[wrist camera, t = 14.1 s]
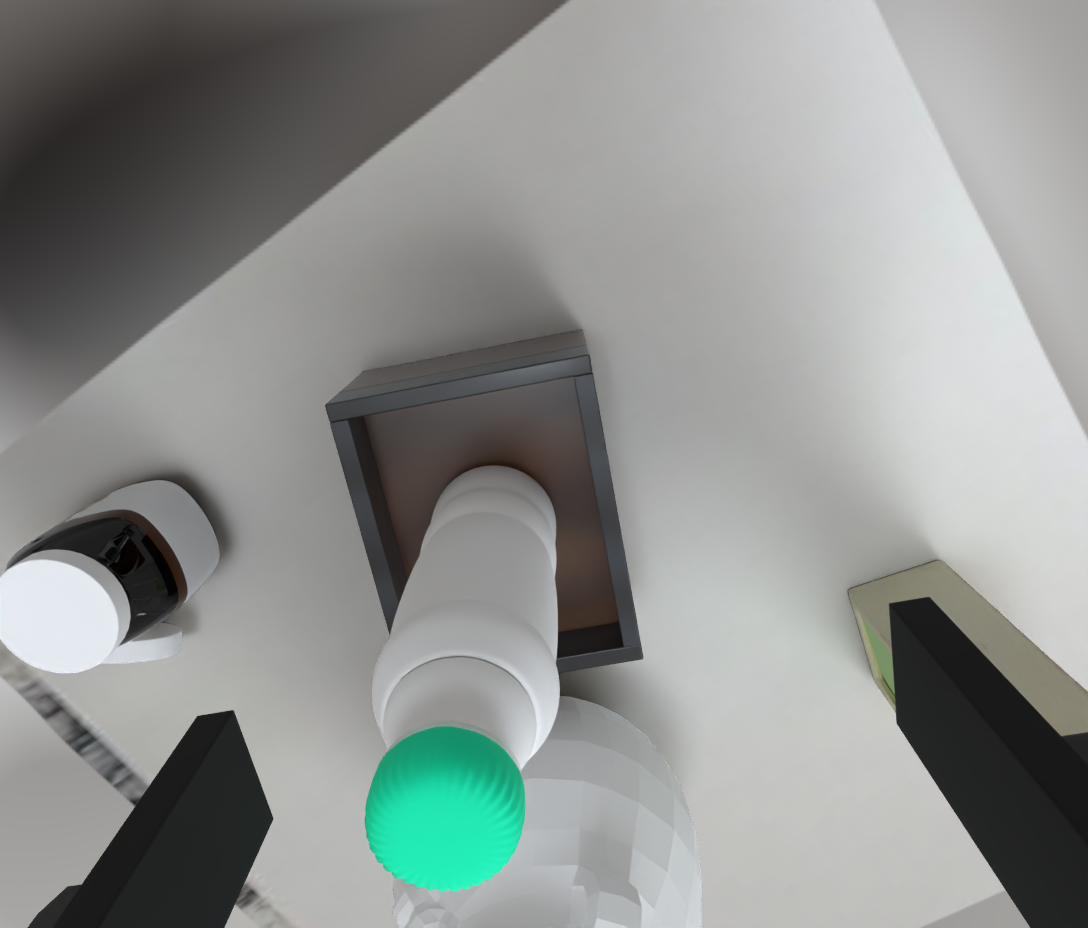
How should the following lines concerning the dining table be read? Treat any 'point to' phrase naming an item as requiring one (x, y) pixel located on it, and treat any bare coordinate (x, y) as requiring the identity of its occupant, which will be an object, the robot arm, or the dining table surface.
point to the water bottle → (466, 684)
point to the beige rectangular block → (983, 626)
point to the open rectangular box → (484, 440)
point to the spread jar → (108, 580)
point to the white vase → (584, 840)
